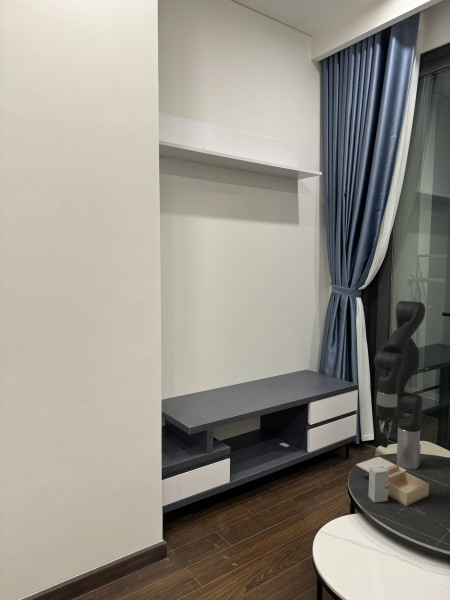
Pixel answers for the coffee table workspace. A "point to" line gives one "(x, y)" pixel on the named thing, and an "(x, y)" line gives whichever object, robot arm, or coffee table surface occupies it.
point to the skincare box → (378, 484)
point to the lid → (380, 462)
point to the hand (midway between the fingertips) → (384, 446)
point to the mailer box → (407, 488)
